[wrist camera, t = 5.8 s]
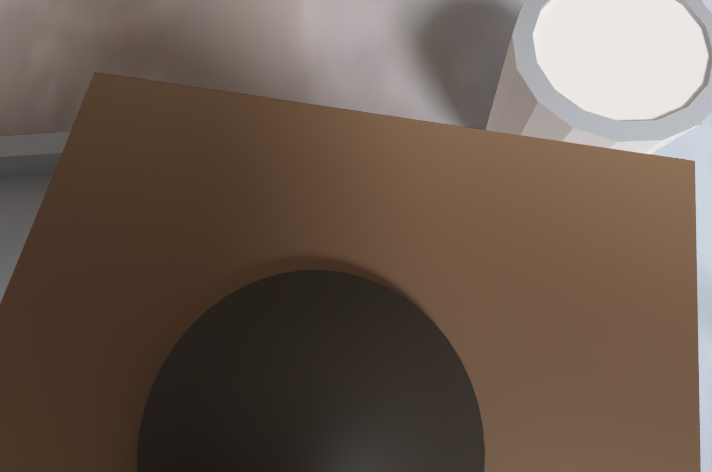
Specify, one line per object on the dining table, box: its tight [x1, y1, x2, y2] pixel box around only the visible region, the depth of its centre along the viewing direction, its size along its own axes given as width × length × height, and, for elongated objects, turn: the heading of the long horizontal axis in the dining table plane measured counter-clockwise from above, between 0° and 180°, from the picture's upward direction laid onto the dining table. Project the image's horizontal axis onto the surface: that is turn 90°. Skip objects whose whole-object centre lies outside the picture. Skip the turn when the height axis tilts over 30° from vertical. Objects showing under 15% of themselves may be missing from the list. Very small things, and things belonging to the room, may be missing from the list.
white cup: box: [486, 0, 712, 154], centre depth 18 cm, size 7×7×7 cm
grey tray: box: [0, 131, 71, 303], centre depth 19 cm, size 14×14×2 cm
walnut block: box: [0, 72, 700, 472], centre depth 9 cm, size 4×4×13 cm
